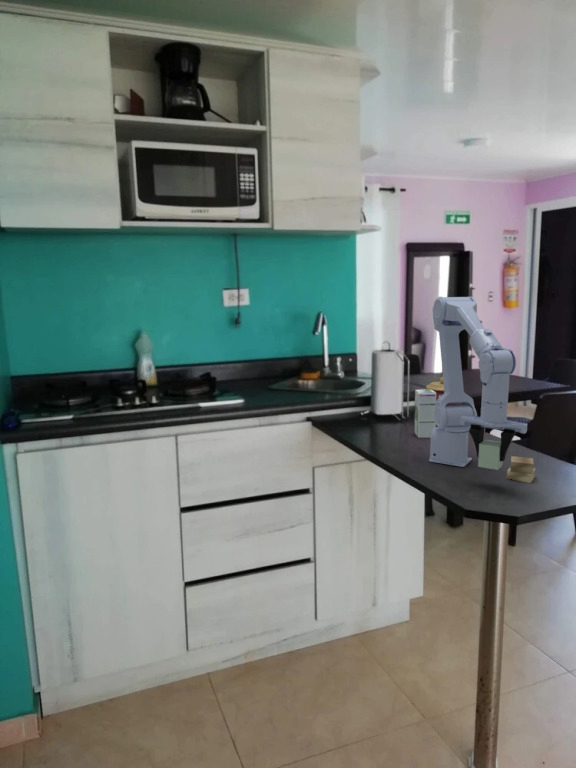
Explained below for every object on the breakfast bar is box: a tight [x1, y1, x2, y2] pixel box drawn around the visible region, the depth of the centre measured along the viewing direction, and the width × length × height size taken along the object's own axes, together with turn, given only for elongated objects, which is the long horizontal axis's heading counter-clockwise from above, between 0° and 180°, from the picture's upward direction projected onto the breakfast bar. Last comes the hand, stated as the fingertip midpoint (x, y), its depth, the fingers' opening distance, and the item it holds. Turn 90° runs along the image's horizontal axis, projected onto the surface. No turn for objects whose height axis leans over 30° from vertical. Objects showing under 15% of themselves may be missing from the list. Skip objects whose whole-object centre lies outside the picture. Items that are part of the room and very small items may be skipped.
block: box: [477, 438, 504, 471], centre depth 132 cm, size 4×4×6 cm
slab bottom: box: [506, 466, 536, 484], centre depth 139 cm, size 6×6×2 cm
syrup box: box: [413, 388, 436, 439], centre depth 177 cm, size 6×6×14 cm
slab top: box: [510, 455, 534, 474], centre depth 138 cm, size 5×5×2 cm
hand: (490, 458), depth 132 cm, fingers closed on block, 4 cm apart
